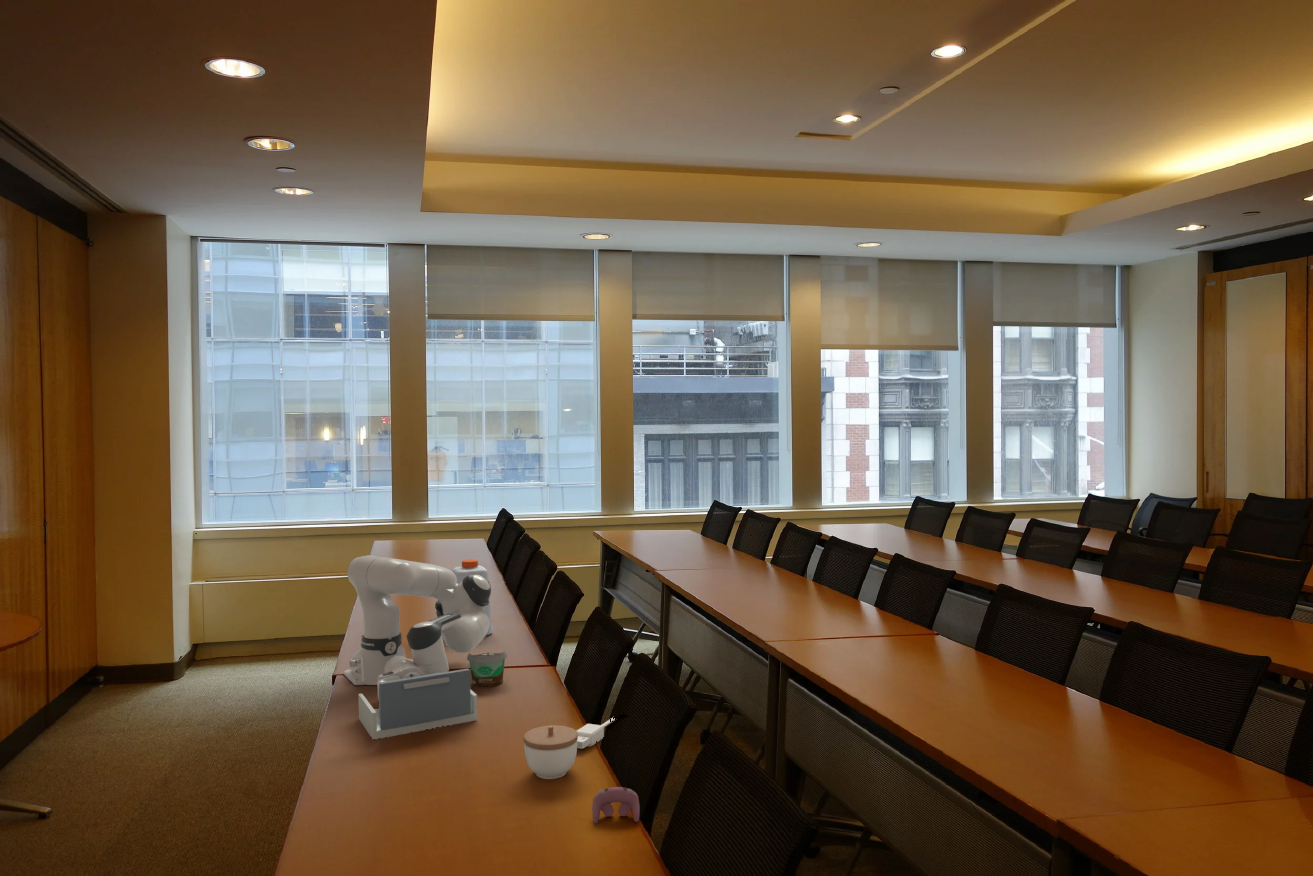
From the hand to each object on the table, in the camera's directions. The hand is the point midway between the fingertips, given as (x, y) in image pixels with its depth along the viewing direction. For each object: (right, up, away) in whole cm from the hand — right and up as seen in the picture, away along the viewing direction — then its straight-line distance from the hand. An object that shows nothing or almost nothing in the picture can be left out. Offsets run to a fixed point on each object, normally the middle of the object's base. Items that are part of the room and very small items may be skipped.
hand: (421, 694), depth 241 cm
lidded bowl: (+39, -9, -33) cm, 52 cm away
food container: (+12, -7, +33) cm, 36 cm away
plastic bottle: (-7, -5, +98) cm, 99 cm away
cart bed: (-2, -8, +4) cm, 9 cm away
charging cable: (+50, -8, -6) cm, 51 cm away
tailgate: (+3, -6, -5) cm, 8 cm away
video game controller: (+56, -10, -56) cm, 80 cm away
